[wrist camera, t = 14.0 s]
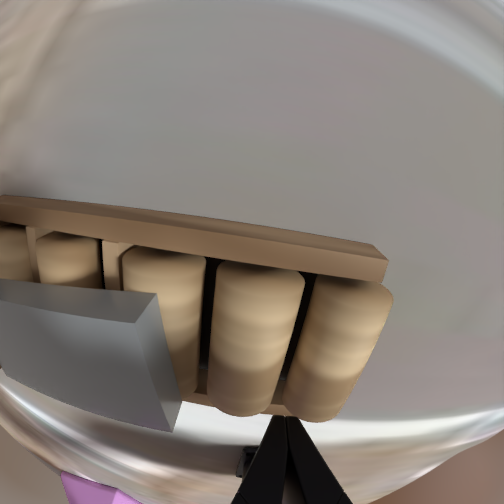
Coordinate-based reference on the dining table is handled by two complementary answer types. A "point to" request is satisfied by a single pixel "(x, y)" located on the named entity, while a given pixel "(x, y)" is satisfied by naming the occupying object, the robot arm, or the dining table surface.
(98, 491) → the chair
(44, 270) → the roller
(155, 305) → the slab
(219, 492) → the dining table surface
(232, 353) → the roller bed
